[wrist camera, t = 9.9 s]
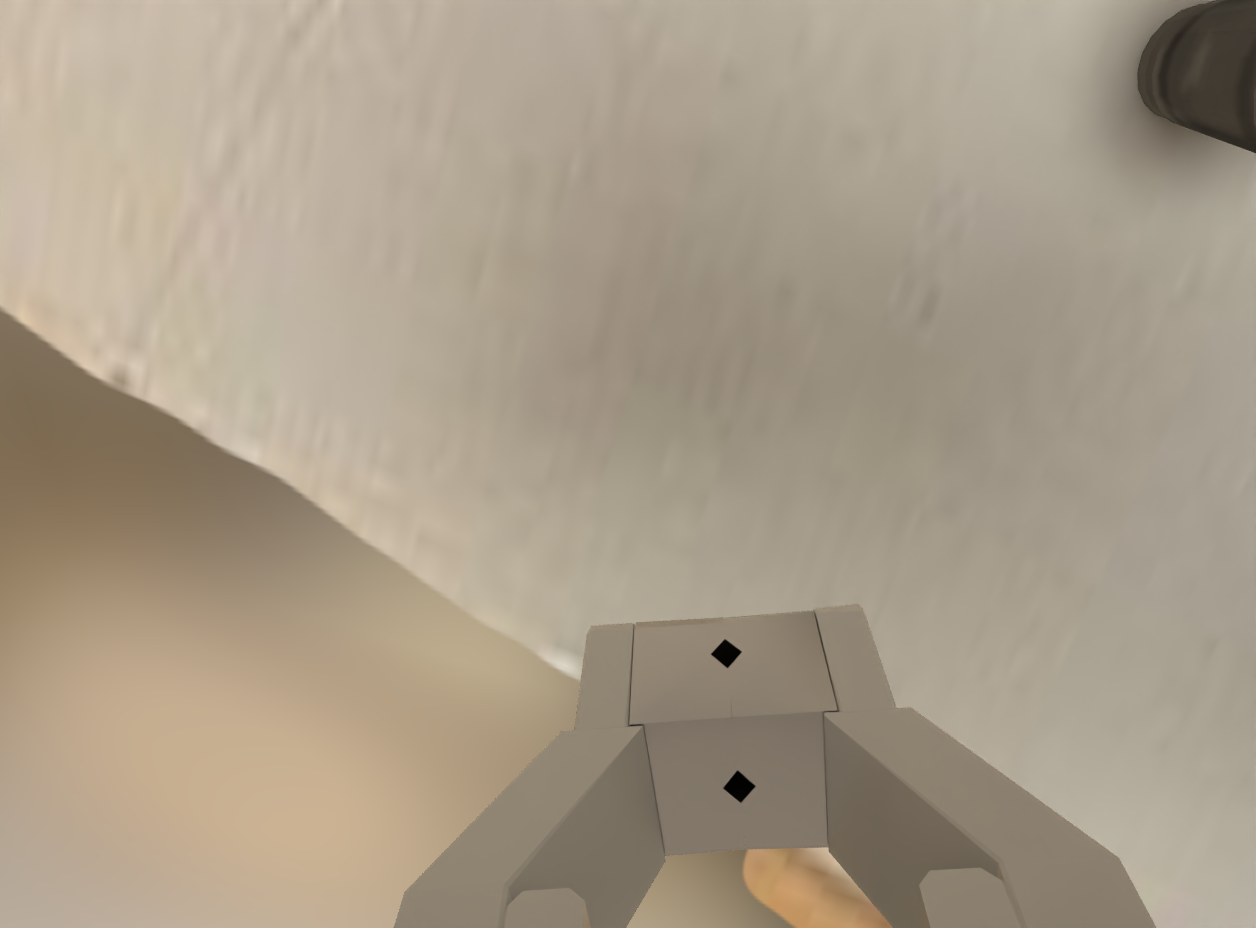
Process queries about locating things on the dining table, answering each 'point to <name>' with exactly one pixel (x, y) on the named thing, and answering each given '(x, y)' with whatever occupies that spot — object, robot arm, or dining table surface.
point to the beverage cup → (1205, 71)
